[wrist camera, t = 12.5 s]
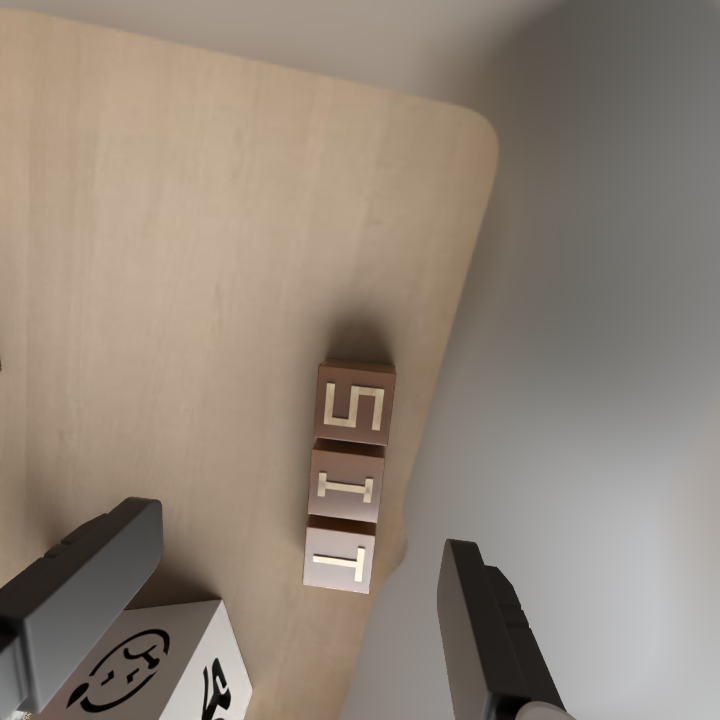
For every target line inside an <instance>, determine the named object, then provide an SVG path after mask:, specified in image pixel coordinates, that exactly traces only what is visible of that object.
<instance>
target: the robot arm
mask: <svg viewBox="0 0 720 720" xmlns="http://www.w3.org/2000/svg"><path fill="white" fill-rule="evenodd" d="M162 552H163V520H162V504H161V502H160V501H159V500H156V499H148V498H140V497H128V498H127V499H125V500H124V501H123V502H121V503H120V504H119V505H118V506H117V507H115V508H114V509H113V510H112V511H111V512H109V513H108V514H106V513H104V514H102V515H100V516H98V517H96V518H94V519H92V520H90V521H88V522H86V523H84V524H82V525H80V526H79V527H78V528H77V529H75V530H74V531H73V532H72V533H70V534H69V535H68V536H67V537H65V538H64V539H63V540H61V543H60V544H56V545H55V546H54V547H53V548H51V549H50V550H49V551H48V552H46V553H45V554H44V557H43V558H41V557H40V558H39V559H37V560H36V561H35V562H34V563H32V564H31V565H30V566H29V567H27V568H26V569H25V570H24V571H22V572H21V573H20V574H18V575H17V576H16V577H15V578H13V579H12V580H11V581H10V582H8V583H7V584H6V585H5V586H3V587H2V588H1V589H0V720H7V719H8V718H9V717H10V716H11V715H12V714H13V713H14V711H22V712H28V713H34V714H40V713H41V711H42V710H43V709H44V708H45V706H46V705H47V704H48V703H49V701H50V700H51V699H52V698H53V697H54V695H55V694H56V693H57V692H58V690H59V689H60V688H61V687H62V685H63V684H64V683H65V682H66V680H67V679H68V678H69V677H70V675H71V674H72V673H73V672H74V670H75V669H76V668H77V667H78V665H79V664H80V663H81V662H82V660H83V659H84V658H85V657H86V656H87V654H88V653H89V652H90V651H91V649H92V648H93V647H94V646H95V644H96V643H97V642H98V641H99V639H100V638H101V637H102V636H103V634H104V633H105V632H106V631H107V629H108V628H109V627H110V626H111V624H112V623H113V622H114V621H115V619H116V618H117V617H118V616H119V615H120V613H121V612H122V611H123V610H124V608H125V607H126V606H127V605H128V603H129V602H130V601H131V600H132V598H133V597H134V596H135V595H136V593H137V592H138V591H139V590H140V588H141V587H142V586H143V585H144V583H145V582H146V581H147V580H148V578H149V577H150V576H151V575H152V574H153V572H154V571H155V569H156V568H157V566H158V564H159V562H160V559H161V556H162ZM437 610H438V617H439V623H440V630H441V635H442V642H443V648H444V654H445V661H446V666H447V673H448V679H449V685H450V691H451V697H452V703H453V710H454V716H455V720H576V719H575V718H573V717H572V716H571V715H570V714H568V713H567V711H566V709H565V708H564V705H563V703H562V701H561V699H560V696H559V694H558V692H557V689H556V687H555V684H554V682H553V680H552V677H551V675H550V673H549V670H548V668H547V666H546V663H545V661H544V659H543V656H542V654H541V652H540V649H539V647H538V644H537V642H536V640H535V637H534V635H533V633H532V630H531V628H529V623H528V621H527V619H526V616H525V614H524V611H523V610H521V604H520V602H519V600H518V597H517V595H516V593H515V591H514V588H513V586H512V584H511V583H510V582H509V581H508V579H507V578H506V577H505V576H504V575H503V574H502V572H501V571H500V570H499V569H498V568H497V567H493V566H486V565H484V562H483V560H482V557H481V554H480V551H479V548H478V546H477V544H476V543H475V542H469V541H462V540H454V539H447V540H446V542H445V546H444V552H443V557H442V563H441V569H440V575H439V581H438V587H437Z"/></svg>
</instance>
